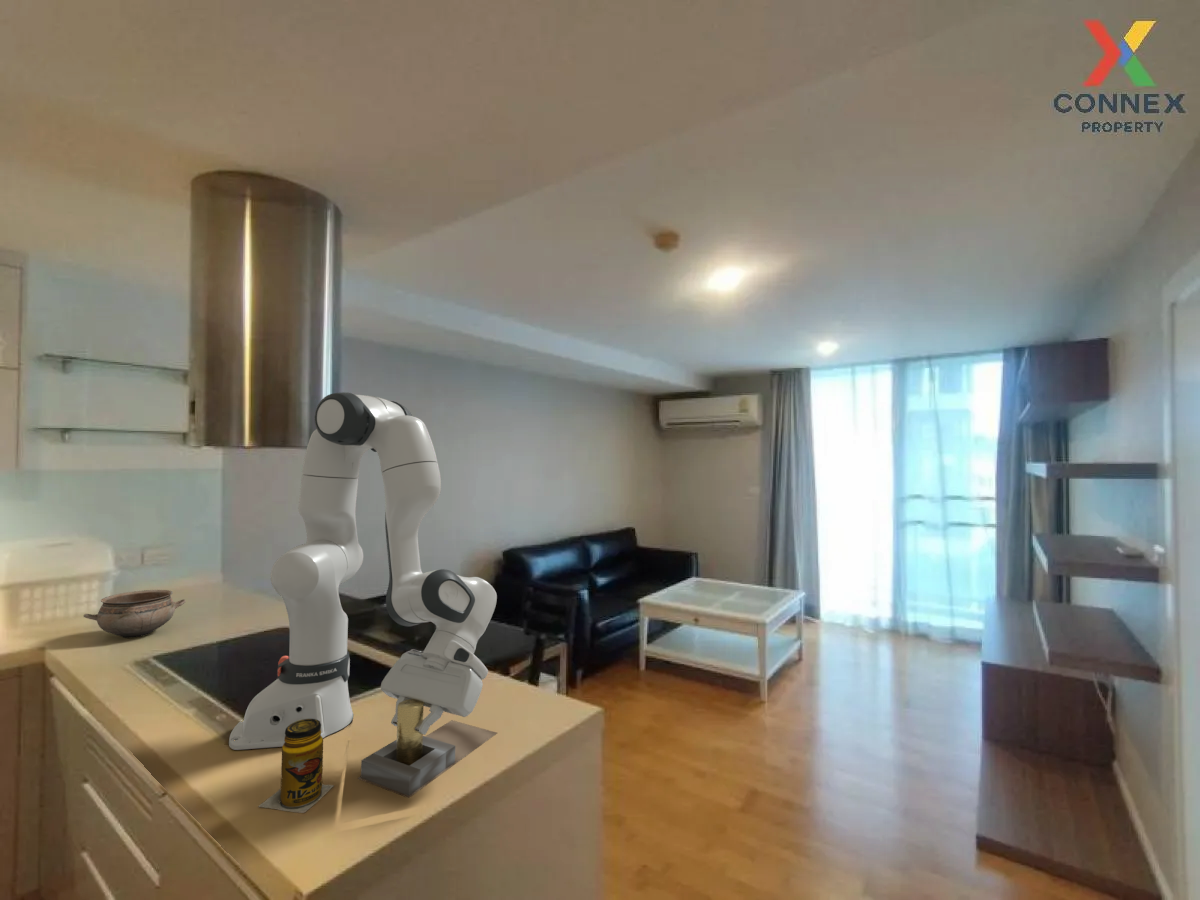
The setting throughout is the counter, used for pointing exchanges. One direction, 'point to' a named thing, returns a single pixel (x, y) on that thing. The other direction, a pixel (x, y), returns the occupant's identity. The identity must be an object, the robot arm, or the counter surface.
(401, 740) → the translucent yellow cylinder
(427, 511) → the robot arm
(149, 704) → the counter surface
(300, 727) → the condiment
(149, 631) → the cooking pot
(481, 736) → the jig
